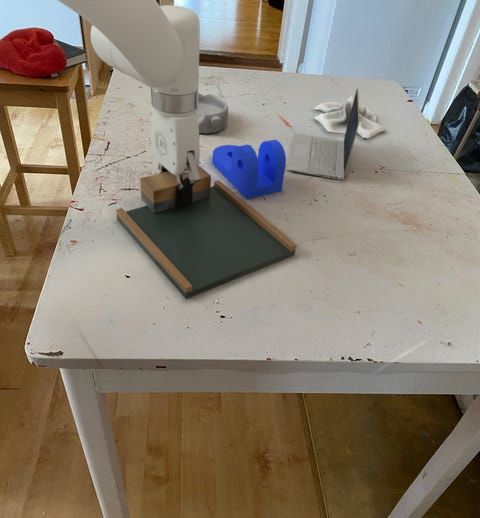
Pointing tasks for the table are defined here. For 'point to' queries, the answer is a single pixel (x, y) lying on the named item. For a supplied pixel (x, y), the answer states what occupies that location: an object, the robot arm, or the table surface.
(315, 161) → the laptop
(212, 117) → the dish
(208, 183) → the eraser
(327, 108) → the cloth
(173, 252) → the slate board
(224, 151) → the bracket
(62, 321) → the table surface
